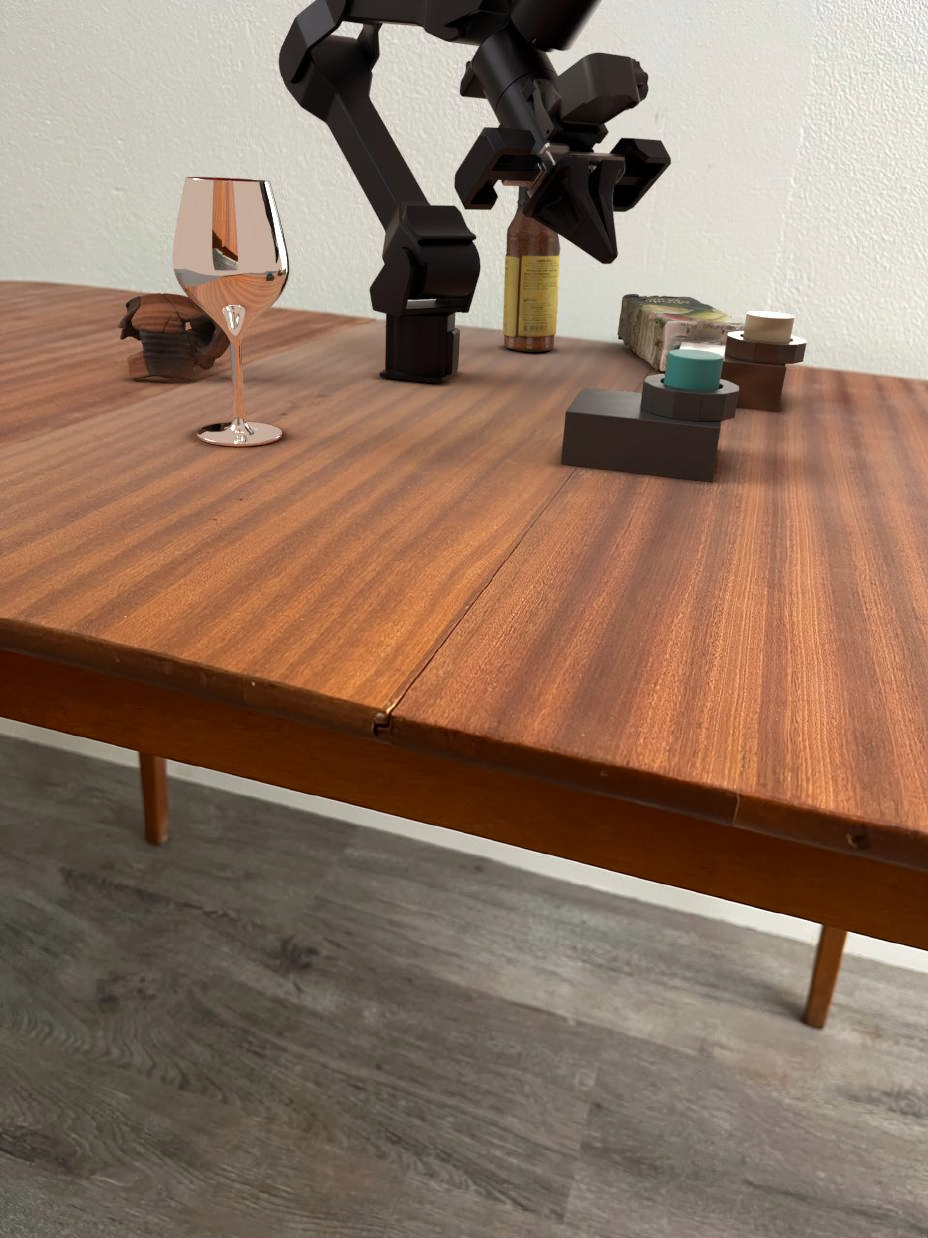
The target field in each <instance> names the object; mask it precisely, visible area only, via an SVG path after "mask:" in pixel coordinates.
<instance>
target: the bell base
mask: <svg viewBox="0 0 928 1238" xmlns="http://www.w3.org/2000/svg"><path fill="white" fill-rule="evenodd" d="M743 333H744V331H736V332H729V333H728V334H727V340H726V346H722V345H711V344H700V343H689V342H682V343H681V346H680V349H691V350H702V351H709V352H713V353H717V354H720V355H722V356H723V357H724V359H723V366H722V372H721V378H720V379H722V380H726V381H729V382H731V383H733V384H736V385H738V386H739V396H738V402H737V408H736V409H744V410H745V409H747V410H755V411H763V412H764V411H765V412H776V413H778V412H779V409H780V404H781V399H782V394H783V388H784V383H785V377H786V371H787V365H795V364H799V363H803V362H804V358H805V353H806V348H807V343H808V342H807V341H806V339H805V338H802V337H798V336H795V335H791V339H790V342H766V341H757V340H751V339H746V338H743Z"/></svg>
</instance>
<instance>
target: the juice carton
mask: <svg viewBox="0 0 928 1238" xmlns="http://www.w3.org/2000/svg"><path fill="white" fill-rule="evenodd" d="M744 327H745V322H742V320H739V319H737V318H735V317H734V316H732V315H729V314H728V313H726V312H724V311H722V310H720V309H718V308H715V307H713V306H711V305H709V304H707V303H703V302H701V301H699V300H697V299H696V298H694V297H691V296H671V295H670V296H667V295H662V296H660V295H649V296H647V295H640V294H638V293H628V294H625V295H623V296H622V298H621V305H620V314H619V319H618V328H617V340H619V341H620V340H621V341H623V345H624V346H625V347H628V348H629V350H630V349H631V351H632V352H633V354H635V355H637V357H639V358H640V359H642V360H644V362H646V363H648V364H650V366H651V367H652V368H654V369H655V370H656V371H658V370H659V371H660V372H665V371H666V364H667V356H668V352H669V351H671V350H677V349H680V346H681V343H682V342H689V343H700V344H711V345H722V346H726V340H727V334H728V333H729V332H736V331H744Z"/></svg>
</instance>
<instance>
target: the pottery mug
mask: <svg viewBox="0 0 928 1238" xmlns="http://www.w3.org/2000/svg"><path fill="white" fill-rule="evenodd" d="M125 308H126V313H125V315H124V316H123V317H122V318H121V319H120V321H119V322H118V323H119V324H118V325H117V328H118V329H121V333H120V335H119V339H120V340H121V341H123V340H126V339H127V338H133V339H135V340H137V341H138V342H140V341H141V345H142V350H140V351H139V352H137V353H134V354H131V355H128V356H127V360H126V361H127V362H126V363H127V365H128V368H129V369H128V370H129V374H130V379H131V380H139V379H146V378H151V377H158V378H159V377H160V378H162V379H163V378H165V379H178V380H183V381H184V380H185V381H189V382H190V381H193V378H194V377H193V375H194V367H195V365H197V364H198V365H199V368H200V369H202V370H203V371H208V370H210V369H212V368H213V367H214V363H215V361H216V360H218V359H220V358H221V357H222V356H223V355H224V354H225V352H227V350H228V348H229V347H230V341H229V339H228V337H227V335H226V334H225V332H224V331H223V330H222V329H221V327H220V326H219V325H218V324H217V323H216V322H215V321H214V320H212V319H211V318H210V317H209V316H208V315H207V314H206V313H205V312H203V311H202V310H201V309H200V308H199V307H198V306H197V305H196V304H195V303H194V302H193V301H192V300H191V299H190V298H189V297H188V296H187V295H183V294H176V293H168V292H166V293H165V292H163V293H160V292H158V293H147V294H144V295H138V296H135V297H132V298H131V299H129V300H128V301H127V302H126V303H125ZM187 323H188V324H189V326H190V328H188V329H187Z"/></svg>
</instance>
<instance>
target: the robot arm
mask: <svg viewBox="0 0 928 1238" xmlns="http://www.w3.org/2000/svg"><path fill="white" fill-rule="evenodd" d="M604 1H605V0H314V1H313V2H311V3H310V4H309V5H308V6H307V7H305V8H304V9H303V10H302V11H300V12H299V13H298V14H297V15H296V16H295V17H294V19H293V21H292V24H291V25H290V27H289V30H288V32H287V34H286V36H285V38H284V41H283V42H282V45H281V46H280V50H279V53H278V70H279V74H280V77H281V78H282V82H283V84H284V86H285V89H287V91H288V92H289V93H290V95H291V97H292V98H293V99H294V100H295V102H297V104H298V105H299V106H300V108H301V109H303V110H304V111H306V112H308V114H311V115H312V116H314V117H315V118H317V119H319V120H320V121H322V122H323V123H324V124H326V126H327V128H328V129H329V130H330V132H331V134H332V137H333V138H334V140H335V142H336V143H337V145H338V147H339V149H340V150H341V153H342V155H343V157H344V159H345V160H346V162H347V164H348V165H349V168H350V169H351V171H352V173H353V175H354V177H355V178H356V180H357V182H358V184H359V186H360V188H361V189H362V191H363V193H364V195H365V198H367V201H368V203H369V204H370V206H371V208H372V209H373V211H374V213H375V216H376V217H377V219H378V220H379V223H380V224H381V226H382V228H383V231H384V240H383V247H382V254H381V259H382V261H383V266H382V267H381V269H380V271H379V273H377V275H376V276H375V278H374V280H373V282H372V283H371V285H370V286H369V297H370V303H371V308H372V311H374V312H378V313H381V314H385V346H384V347H385V350H384V351H385V353H384V356H385V357H384V368H383V369H381V370H380V371H378V374H379V375H378V376H379V377H380V378H388V379H397V380H405V381H416V382H425V383H433V384H434V383H435V384H443V383H445V382H446V381H447V380H449V379H450V378H451V377H453V376H454V375H455V374H457V373H458V371H459V361H460V343H461V342H460V340H461V339H460V338H461V330H460V328H458V327H456V314H457V313H458V314H459V313H461V314H468V313H470V310H471V306H472V302H473V299H474V295H475V291H476V288H477V285H478V281H479V278H480V274H481V256H480V253H479V251H478V248H477V245H476V243H474V241H475V240H477V235H476V234H475V233H473V232H472V231H471V230H470V229H469V227H468V225H467V223H466V220H465V218H464V216H463V214H462V211H460V210H459V208H458V207H457V206H456V205H447V204H446V205H441V204H431V203H430V201H428V199H427V197H426V195H425V193H424V191H423V190H422V188H421V186H420V184H419V182H418V181H417V179H416V177H415V176H414V174H413V172H412V170H411V169H410V166H409V165H408V163H407V162H406V160H405V158H404V156H403V154H402V153H401V151H400V149H399V148H398V146H397V144H396V142H395V140H394V138H393V136H392V134H391V133H390V131H389V130H388V128H387V126H386V124H385V123H384V121H383V119H382V118H381V116H380V114H379V112H378V110H377V109H376V107H375V105H374V103H373V101H372V100H371V97H370V96H371V95H370V94H371V90H372V83H373V76H374V74H373V69H374V68H375V66H376V64H377V63H378V61H379V59H380V55H381V54H380V52H381V51H380V35H379V32H380V30H381V28H382V26H383V25H384V24H386V25H396V26H397V25H399V26H408V27H409V26H410V27H420V28H423V30H424V31H425V33H427V34H429V35H431V36H433V37H435V38H437V39H440V40H442V41H444V42H447V43H453V44H461V45H468V46H474V47H477V49H476V51H475V53H474V54H473V56H472V58H471V60H468V61H466V63H465V70H464V74H463V76H462V78H461V80H460V85H459V95H460V96H461V97H463V98H471V99H482V100H487V102H488V103H489V105H490V107H491V109H492V111H493V113H494V115H495V117H496V119H497V122H498V124H499V125H498V126H497V127H493V126H487V127H486V126H484V127H483V128H482V130H481V131H480V133H479V135H478V136H477V138H476V140H475V141H474V143H473V144H472V146H471V147H470V149H469V150H468V153H467V154H466V156H465V157H464V159H463V160H462V162H461V163H460V165H459V167H458V168H457V170H456V171H455V174H454V182H453V183H454V184H453V187H454V190H455V192H456V194H457V196H458V198H459V200H460V202H461V204H462V207H463V209H464V210H466V211H467V210H468V211H470V210H473V211H474V210H475V211H491V210H492V209H493V208H494V206H495V205H496V202H497V200H498V198H499V195H498V193H497V191H496V189H495V185H496V184H497V183H498V181H500V183H501V184H502V186H504V187H518V188H519V187H528V189H529V190H528V191H527V193H528V195H529V197H530V199H529V201H528V202H527V203H526V205H525V206H524V207H523V209H522V213H523V215H524V216H525V217H527V218H533V219H535V220H536V221H538V222H539V223H541V224H543V225H544V226H546V227H548V228H549V229H551V230H553V231H554V232H556V233H558V236H561V237H563V239H565V240H567V241H568V242H570V243H571V244H573V245H574V246H575V247H577V248H579V249H580V250H582V251H583V252H584V253H586V254H587V255H589V256H590V257H591V258H593V259H595V260H596V261H597V262H599V263H601V264H602V265H612V264H613V263H614V261H615V260H616V259H617V258H618V256H619V251H618V241H617V233H616V225H615V216H614V213H626V212H628V211H630V210H631V209H634V208H635V207H636V206H637V205H638V203H639V202H640V201H641V199H642V198H643V197H645V195H646V194H647V192H648V191H650V189H651V188H652V187H653V186H654V184H655V183H656V182H657V181H658V180H659V179H660V178H661V176H662V175H663V174H664V173H665V171H666V170H667V169H668V168H669V167H670V166H671V164H672V158H671V156H670V153H669V152H668V150H667V149H666V147H665V145H664V143H663V141H662V140H661V139H660V140H659V139H651V138H635V137H620V138H619V140H618V141H617V143H616V144H615V145H614V147H612V149H611V150H610V151H609V153H607V152H595V150H594V147H595V145H596V144H601V143H603V141H604V139H605V138H606V137H607V136H608V135H609V133H610V132H609V129H608V127H607V126H606V124H607V123H609V122H610V121H611V120H613V119H615V118H616V117H617V116H619V115H620V114H622V113H623V112H626V111H629V110H633V109H634V108H637V106H638V105H639V104H640V103H641V102H643V101H644V100H645V99H646V98H647V96H648V93H649V83H648V81H649V74H648V73H647V71H644V69H643V67H642V66H641V62H640V61H639V60H636V58H632V57H630V56H627V55H620V54H615V53H614V54H613V53H606V52H601V51H600V52H599V51H598V52H597V51H596V52H592V53H589V54H587V55H585V56H583V57H582V58H580V59H579V60H577V61H576V62H575V63H573V64H572V65H571V66H569V67H568V68H567V69H566V70H564V71H563V72H562V73H560V74H559V75H558V73H557V70H556V69H555V67H554V65H553V63H552V62H551V60H550V57H549V55H548V53H554V52H555V51H559V52H565V51H570V50H572V49H573V48H574V46H575V45H576V44H577V43H578V41H579V39H580V37H581V36H582V34H583V33H584V32H585V30H586V29H587V27H588V25H589V24H590V22H591V21H592V20H593V18H594V16H595V15H596V13H597V12H598V10H599V9H600V7H602V4H603V3H604ZM343 22H345V23H352V24H360V25H362V29H361V31H360V32H359V33H358V36H357V38H355V37H352V36H343V35H338V34H334V33H335V32H336V31H337V30H338V29H339V28H340V27H341V25H342V23H343Z"/></svg>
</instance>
